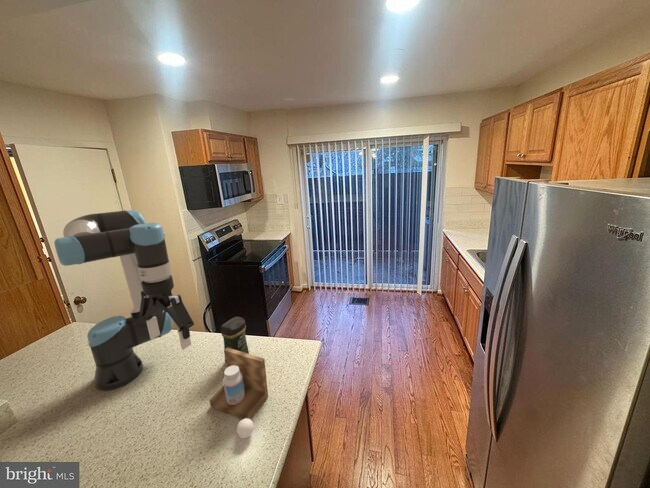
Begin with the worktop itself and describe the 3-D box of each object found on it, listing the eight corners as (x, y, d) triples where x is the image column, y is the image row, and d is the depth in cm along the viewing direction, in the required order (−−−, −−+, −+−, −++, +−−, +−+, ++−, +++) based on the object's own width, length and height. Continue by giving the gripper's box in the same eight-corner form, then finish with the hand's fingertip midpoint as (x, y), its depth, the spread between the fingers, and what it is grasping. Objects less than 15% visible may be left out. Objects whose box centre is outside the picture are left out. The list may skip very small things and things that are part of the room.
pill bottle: (248, 394, 89) (245, 366, 86) (236, 408, 84) (231, 379, 81) (235, 388, 92) (231, 361, 89) (222, 401, 86) (217, 373, 83)
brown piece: (210, 406, 88) (203, 367, 84) (232, 383, 98) (227, 347, 93) (249, 422, 82) (243, 381, 78) (268, 396, 92) (264, 358, 87)
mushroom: (241, 426, 81) (240, 413, 80) (256, 427, 81) (255, 414, 79) (235, 442, 76) (233, 429, 75) (250, 443, 76) (249, 430, 75)
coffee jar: (236, 370, 104) (231, 329, 99) (222, 364, 108) (216, 325, 103) (252, 355, 113) (248, 317, 108) (238, 350, 116) (233, 313, 111)
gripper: (115, 277, 75) (131, 339, 81) (176, 289, 66) (189, 359, 72) (141, 268, 82) (154, 326, 88) (199, 278, 73) (210, 343, 79)
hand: (170, 341), depth 80 cm, fingers open, 13 cm apart
